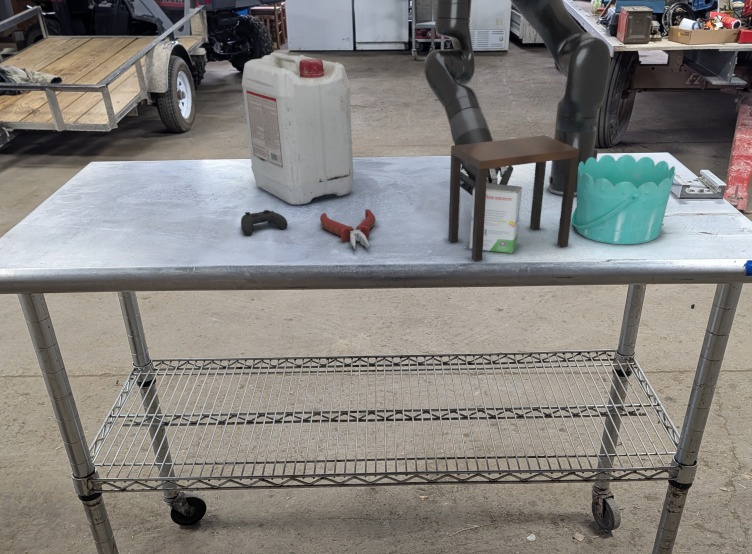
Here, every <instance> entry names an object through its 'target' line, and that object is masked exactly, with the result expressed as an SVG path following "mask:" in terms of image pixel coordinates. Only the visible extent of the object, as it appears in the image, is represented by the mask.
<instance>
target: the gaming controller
mask: <svg viewBox="0 0 752 554" xmlns="http://www.w3.org/2000/svg"><path fill="white" fill-rule="evenodd" d="M262 223H268V224H273V225H274V226H276V227H277V228H280V229H281V230H284V229H286V228H287V227H288V220H287V219H286V217H285V216H283V215H282V214H280V213H278V212H275V211H274V210H269V209H264V210H263V211H259V212H253V213H251V212H250V211H246V212H244V214H243V216H242V217H241V219H240V227H241V230H242V232H243V234H245V236H250V235H252V233H253V230H254V225H257V224H262Z"/></svg>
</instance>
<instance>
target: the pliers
mask: <svg viewBox="0 0 752 554" xmlns="http://www.w3.org/2000/svg"><path fill="white" fill-rule="evenodd" d="M364 213H365V215H364V216H365V217H364V219H363V220H362V221H361V222H360V223H359V224H358V225H357V226H356V227H355V228H354V227H353V226H351V225H346V224H343V223H342V222H339V221H336V220H334V219H331V218H329V217H328V216H327V213H326V212H322V213H321V214H320V217H319V219H320V224H321V227H322V228H323V229H324V230H325V231H327V232H329V233H332V234H335V235H337V236H340V240H341V241H342V242H344V243H346V242H350V245H351V246H352V248H353V249H354V251H356V248H357V247H356V246H357V245H356V244H357V242H359V243H360V245H362V246H364V247H366V248H367V249H370V248H371V246H370V243H369V240H368V239H369V238H370V230H371V229H372V228H373V227H374V225H375V224H376V216H375V214H374V213H373V212H372V211H371V210H370V209H367V208H366V209H364Z"/></svg>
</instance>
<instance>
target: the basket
mask: <svg viewBox="0 0 752 554" xmlns="http://www.w3.org/2000/svg"><path fill="white" fill-rule="evenodd" d="M675 171H676V167H675V166H673V165H672V166H671V167H670V166H669V163H668V161H666V160H660V161H658V162H657V163H656V164H655V162H654V160H653V159H652V157H649V156H643V157H641V158H639V159H638V160H637V161H636V159H635V157H633V156H632V155H630V154H623V155H621V156H619V157H618V158H617V159H616V158H615V157H614V156H612V155H610V154H604V155H603V156H601V157H600V158H599V160H596V159H595V158H593V157H591V158H589V159H588V160H587V161H586V163H585V166H584V163H583V162H580V164H579V167H578V178H577V179H578V181H577V196H576V205H575V208H574V211H573V212H572V215H571V223H572V225H573V226H574V229H575V230H576V232H577V233H579V234H580V235H581V236H583V237H584V238H587V239H589V240H593V241H595V242H596V241H597V242H599V243H600V242H601V243H603V244H604V243H606V244H612V245H624V246H625V245H636V244H637V245H638V244H644V243H648V242H651V241H653V240H656V239H657V238H658V237H659V236H660V234H661V231H662V227H663V223H664V219H665V214H666V211H667V206H668V202H669V199H670V194H671V193H672V187H673V185H674V184H673V180H675V176H676V172H675Z"/></svg>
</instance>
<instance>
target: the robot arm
mask: <svg viewBox="0 0 752 554" xmlns="http://www.w3.org/2000/svg"><path fill="white" fill-rule="evenodd" d="M509 1H510V2H511V4H512V5H513V6H514V7H515V8H516V10H517V11H518V12H519V13H520V14H521V16H522V17H523V19H524V20H525V21H526V22H527V23H528V24H529V25H530V26H531V28H532V29H533V30H534V31H535V32H536V34H537V35H538V36H539V37H540V39H541V40H542V42H543V44H544V45H545V46H546V48H547V50H548V51H549V53H550V55H551V58H552V59H553V61H554V62H555V65H556V66H557V68H558V69H559V71H560V72H561V74H562V75H563V76H565V77H566V83H565V91H564V95H563V97H562V98H561V99H560V100H559V101H558V102H557V107H556V116H555V126H554V136H553V139H555V140H557V141H560V142H562V143H565V144H567V145H570V146H572V147H575V148H577V149H579V157H578V166H577V174H576V182H575V190H574V197H577V181H578V179H577V178H578V167H579V164H580V162H583V163H584V166H585V163H586V161H587V160H588V159H589V158H591V157H593V158H595V159H596V160H597V159H598V154H599V153H598V152H599V151H598V149H596V148H595V147H596V140H597V133H598V132H597V131H598V124H599V123H598V122H599V115H600V110H601V107H602V105H603V103H604V101H605V97H606V93H607V86H608V81H609V75H610V69H611V50H610V48H609V45H608V44H607V42H605V40H603V39H602V38H599V37H597V36H594V35H589V34H588V33H586V32H585V31H584V30H583V29H582V27H581V26H580V25H579V24H578V23H577V21H576V20H575V19H574V18H573V16H572V15H571V14H570V12H569V11H568V9H567V7H566V5H565V3H564V1H563V0H509ZM471 12H472V0H436V3H435V18H434V19H435V21H434V24H435V25H434V28H435V29H434V30H435V32H436V34H438V36H441V37H445V38H447V39H450V40H451V41H450V42H451V43H452V46H453V49H434V50H432V51H430V52H429V53H428V54H427V55H426V57H425V59H424V63H423V73H424V77H425V80H426V82H427V84H428V86H429V88H430V90H431V91H432V92H433V94H434V95H435V97H436V99H437V100H438V101H439V103H440V104H441V105H442V107H443V109H444V112H445V114H446V115H445V116H446V118H447V121H448V124H449V129H450V134H451V138H452V141H453V144H454V146H455V145H464V144H473V143H482V142H491V141H494V140H493V137H492V133H491V130H490V127H489V125H488V122H487V119H486V117H485V114H484V113H483V111H482V108H481V105H480V102H479V98H478V96H477V93H476V91H475V90H474V89H473V88H472V87H470V86H469V85H468V84H470V83H471V81H472V79H473V77H474V74H475V70H476V60H475V59H476V58H475V53H474V48H473V42H472V34H471V24H470V23H471ZM597 161H598V160H597ZM566 163H567V159H562V160H554V161H551V166H550V174H549V175H548V183H549V184H548V191H549V192H550V193H551V194H554V195H558V196H563V189H564V180H565V171H566ZM513 172H514V166H506V167H498V168H490V169H487V183H491V184H501V185H509V181H510V180H511V176H512V174H513ZM498 174H499V178H500V181H498V180H499V179H498ZM475 180H476V167H474V166H472V165H470V164H469V163H467V162H465V161H463V160H461V176H460V189H463V190H464V191H465V192H466V193H468V194H469V195H470V196H471V197H472V195H473V188H474V187H475ZM498 182H499V183H498ZM672 185H675V184H674V183H673V184H672ZM695 306H696V305H695V303H692V304H691V305H690V309H691V310H694V309H695Z"/></svg>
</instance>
